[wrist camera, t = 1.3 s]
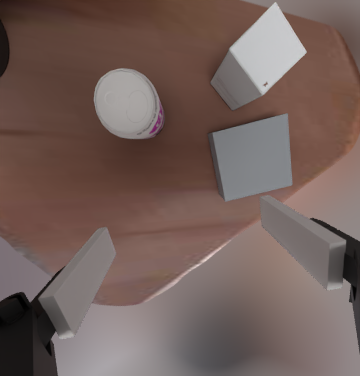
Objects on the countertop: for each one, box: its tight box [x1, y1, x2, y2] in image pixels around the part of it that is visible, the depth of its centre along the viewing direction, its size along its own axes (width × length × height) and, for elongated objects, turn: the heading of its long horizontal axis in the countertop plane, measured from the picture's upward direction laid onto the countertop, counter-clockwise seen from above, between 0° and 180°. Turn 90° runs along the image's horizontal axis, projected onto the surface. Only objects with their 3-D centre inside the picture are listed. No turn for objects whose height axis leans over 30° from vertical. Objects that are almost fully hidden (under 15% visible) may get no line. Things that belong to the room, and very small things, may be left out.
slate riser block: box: [208, 113, 292, 202], centre depth 36 cm, size 14×14×5 cm
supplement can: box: [94, 68, 165, 139], centre depth 27 cm, size 8×8×15 cm
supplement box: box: [210, 2, 306, 111], centre depth 27 cm, size 7×7×13 cm
